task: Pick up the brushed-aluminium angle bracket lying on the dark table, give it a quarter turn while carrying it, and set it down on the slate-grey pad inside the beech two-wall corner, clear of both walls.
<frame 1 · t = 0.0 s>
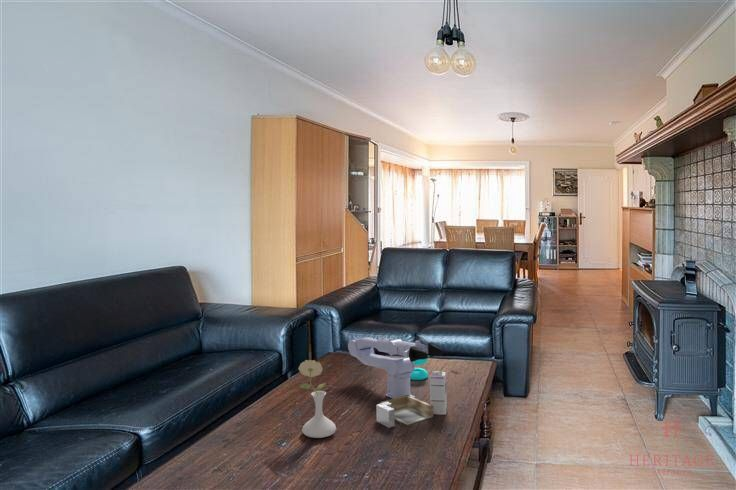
hand: (434, 354, 180), 22 cm above the table, tool horizontal, fingers open, 7 cm apart
arena: (406, 405, 187), on the table
syrup box: (438, 412, 181), on the table
donuts: (416, 377, 221), on the table
flower in vase: (317, 434, 164), on the table
bracket: (385, 423, 171), on the table
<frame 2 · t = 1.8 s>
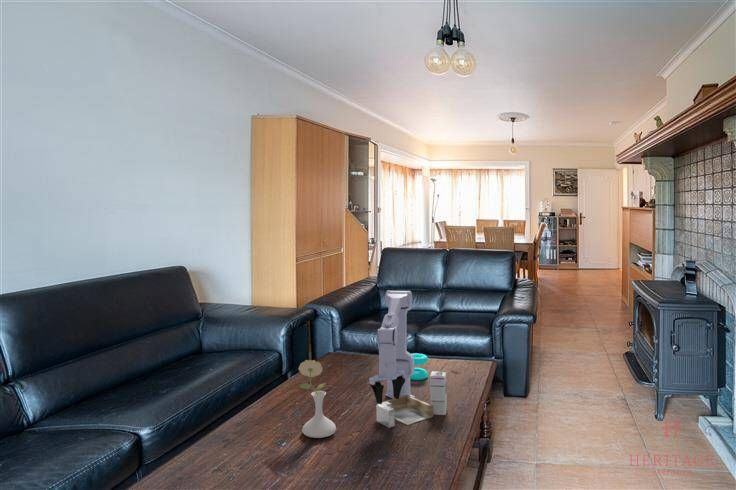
hand: (387, 400, 169), 9 cm above the table, tool pointing down, fingers open, 7 cm apart
nothing on the table moved.
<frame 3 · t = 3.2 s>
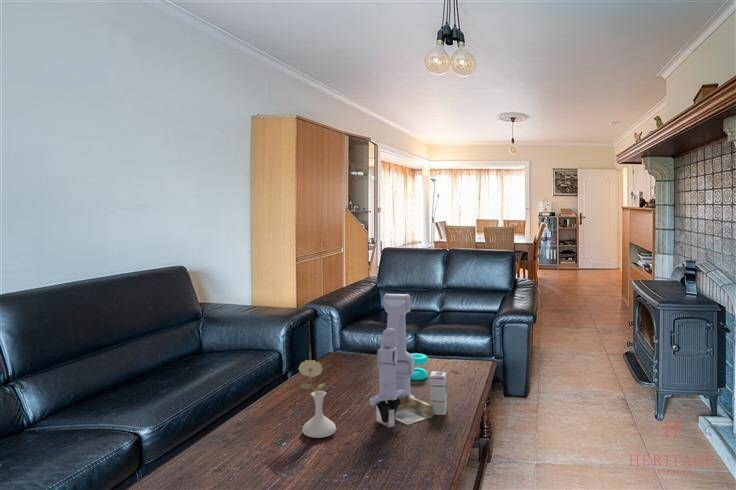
hand: (388, 420, 170), 2 cm above the table, tool pointing down, fingers closed on bracket, 2 cm apart
bracket: (385, 423, 171), on the table, touching gripper
everything else where it was.
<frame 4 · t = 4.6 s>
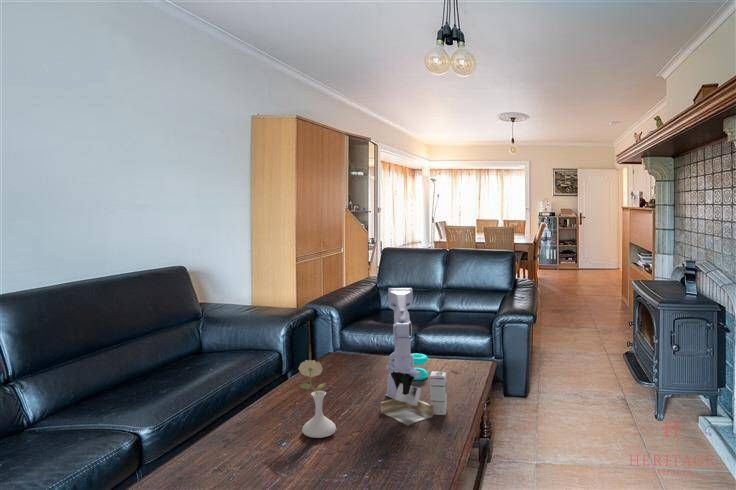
hand: (403, 392, 175), 9 cm above the table, tool pointing down, fingers closed on bracket, 2 cm apart
bracket: (403, 401, 176), point 6 cm above the table, tilted 23°, touching gripper
everything else where it was.
when the fingers open (3 cm above the table, at t = 6.2 s): bracket stays where it is, resting on arena.
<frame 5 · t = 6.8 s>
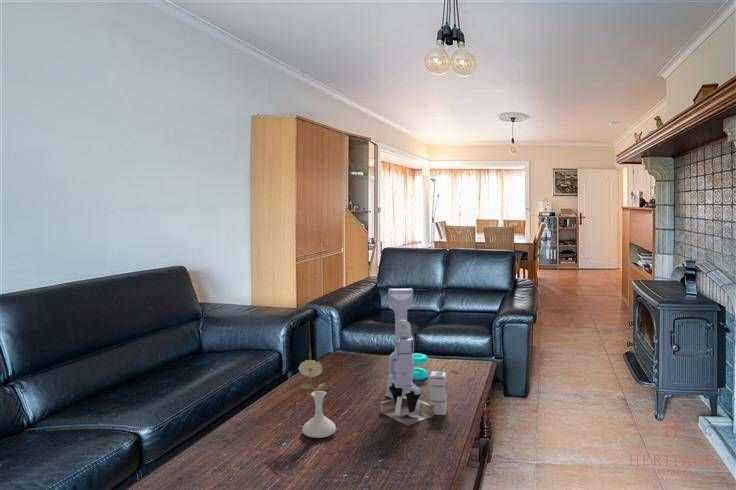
hand: (404, 408, 176), 3 cm above the table, tool pointing down, fingers open, 7 cm apart
bracket: (403, 414, 176), point 1 cm above the table, tilted 15°, touching arena, gripper
everything else where it was.
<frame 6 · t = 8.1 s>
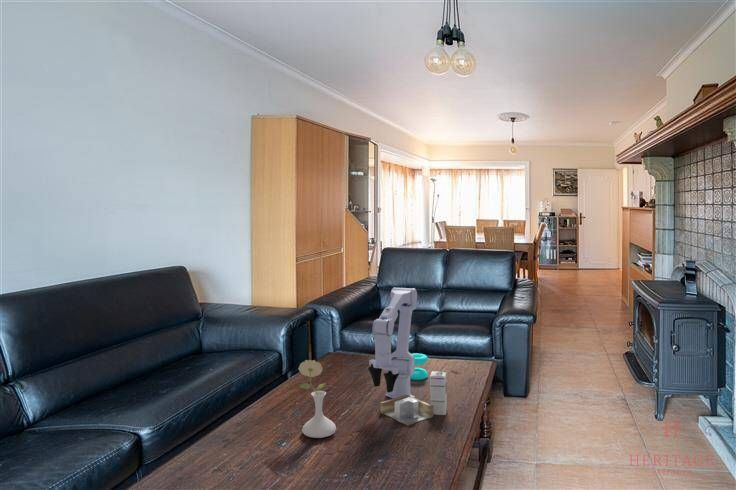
hand: (383, 388, 178), 10 cm above the table, tool pointing down, fingers open, 7 cm apart
bracket: (404, 416, 176), resting on arena
everything else where it was.
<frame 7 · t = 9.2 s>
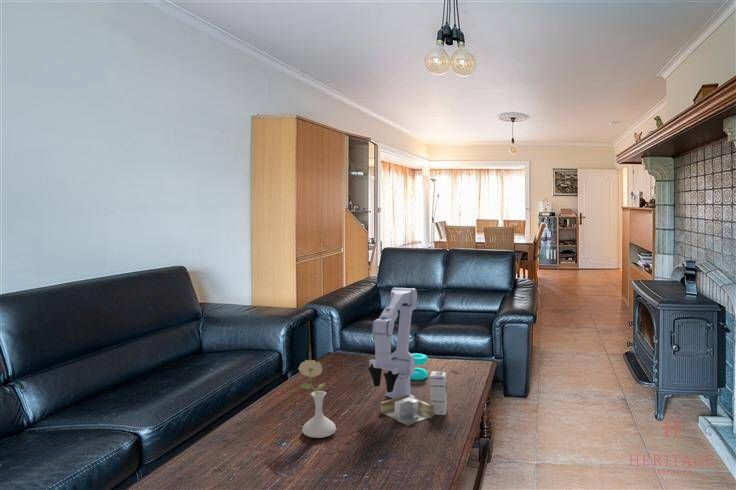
hand: (383, 388, 178), 10 cm above the table, tool pointing down, fingers open, 7 cm apart
nothing on the table moved.
at the end: bracket inside the target area on the arena (1.3 cm from its centre), point 0.4 cm above the arena's base; bracket tilted 0°; the gripper is holding nothing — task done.
